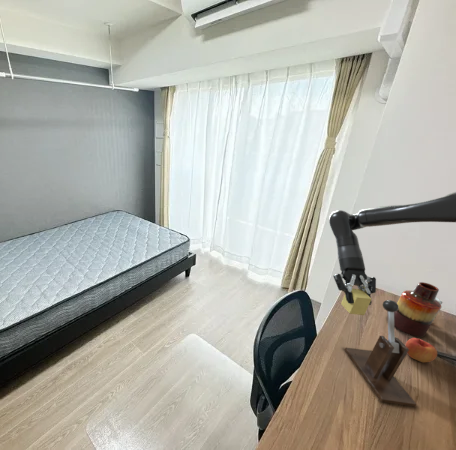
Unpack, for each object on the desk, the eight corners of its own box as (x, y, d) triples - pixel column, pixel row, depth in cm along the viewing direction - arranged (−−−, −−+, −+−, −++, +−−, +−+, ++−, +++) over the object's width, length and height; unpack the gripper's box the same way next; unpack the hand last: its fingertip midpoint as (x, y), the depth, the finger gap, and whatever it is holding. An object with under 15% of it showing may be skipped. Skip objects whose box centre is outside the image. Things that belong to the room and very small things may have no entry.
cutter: (344, 350, 88) (358, 318, 82) (370, 354, 87) (387, 322, 81) (380, 402, 71) (402, 367, 65) (414, 407, 70) (439, 372, 64)
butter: (354, 305, 94) (361, 289, 91) (364, 315, 89) (371, 298, 86) (340, 303, 94) (347, 287, 91) (349, 313, 89) (356, 297, 86)
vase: (427, 342, 93) (454, 299, 85) (389, 328, 98) (411, 287, 91) (421, 326, 101) (445, 285, 93) (386, 314, 106) (406, 274, 99)
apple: (432, 371, 81) (444, 354, 78) (403, 359, 85) (413, 342, 82) (427, 356, 87) (438, 340, 84) (400, 345, 91) (409, 329, 88)
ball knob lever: (379, 298, 78) (389, 300, 74) (391, 299, 77) (401, 301, 74) (380, 348, 76) (390, 352, 72) (393, 350, 75) (403, 354, 72)
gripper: (336, 254, 92) (345, 300, 85) (377, 258, 91) (389, 305, 84) (325, 259, 99) (332, 302, 92) (363, 263, 97) (372, 307, 91)
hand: (359, 303), depth 88 cm, fingers closed on butter, 5 cm apart
